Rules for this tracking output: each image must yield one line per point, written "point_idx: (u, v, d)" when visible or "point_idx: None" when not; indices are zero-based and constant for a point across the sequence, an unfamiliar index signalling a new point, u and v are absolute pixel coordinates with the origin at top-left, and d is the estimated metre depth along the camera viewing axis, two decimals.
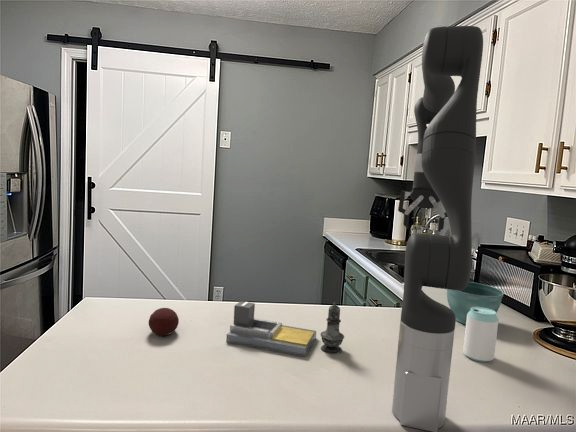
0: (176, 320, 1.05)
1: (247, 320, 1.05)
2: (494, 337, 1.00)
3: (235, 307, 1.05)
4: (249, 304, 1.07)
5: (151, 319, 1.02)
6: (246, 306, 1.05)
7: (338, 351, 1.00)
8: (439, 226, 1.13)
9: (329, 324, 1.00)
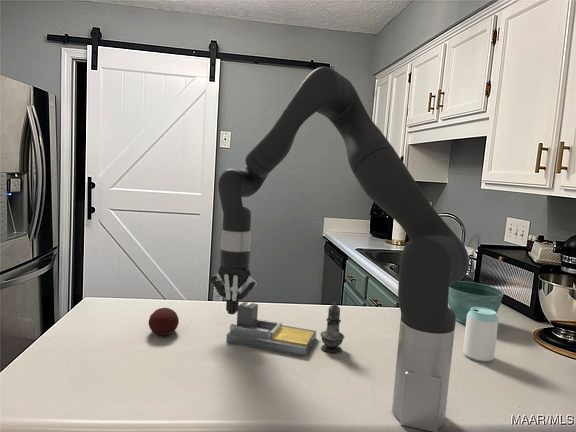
0: (176, 320, 1.05)
1: (250, 321, 1.04)
2: (494, 337, 1.00)
3: (238, 308, 1.05)
4: (252, 305, 1.07)
5: (151, 319, 1.02)
6: (249, 307, 1.05)
7: (338, 351, 1.00)
8: (231, 309, 1.06)
9: (329, 324, 1.00)
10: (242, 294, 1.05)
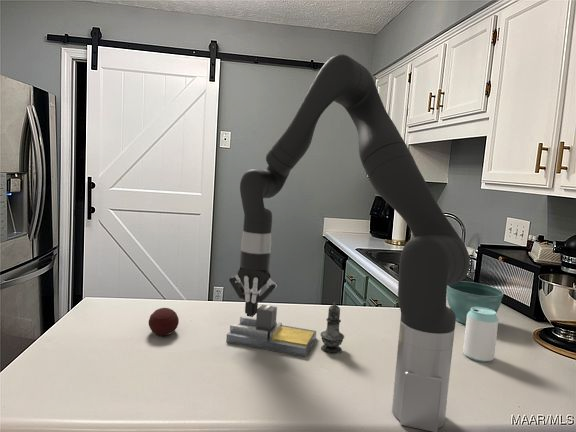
0: (176, 320, 1.05)
1: (270, 324, 1.03)
2: (494, 337, 1.00)
3: (258, 311, 1.04)
4: (271, 308, 1.05)
5: (151, 319, 1.02)
6: (269, 310, 1.03)
7: (338, 351, 1.00)
8: (250, 311, 1.05)
9: (329, 324, 1.00)
10: (262, 296, 1.04)
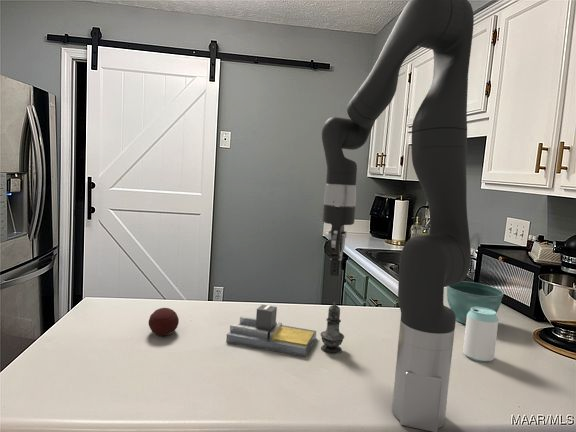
0: (176, 320, 1.05)
1: (270, 324, 1.03)
2: (494, 337, 1.00)
3: (257, 311, 1.04)
4: (271, 308, 1.05)
5: (151, 319, 1.02)
6: (268, 310, 1.04)
7: (338, 351, 1.00)
8: None
9: (329, 324, 1.00)
10: (329, 253, 0.97)
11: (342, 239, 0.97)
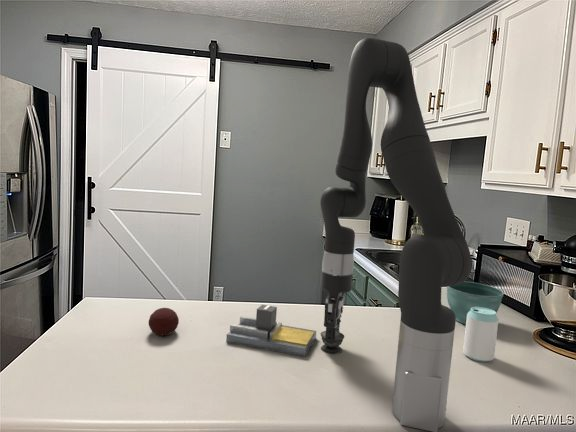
0: (176, 320, 1.05)
1: (270, 324, 1.03)
2: (494, 337, 1.00)
3: (257, 311, 1.04)
4: (271, 308, 1.05)
5: (151, 319, 1.02)
6: (268, 310, 1.04)
7: (338, 351, 1.00)
8: None
9: None
10: (324, 321, 0.96)
11: (339, 305, 0.98)
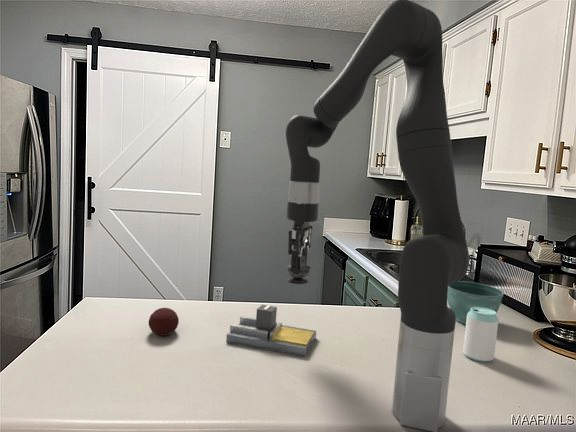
0: (176, 320, 1.05)
1: (270, 324, 1.03)
2: (494, 337, 1.00)
3: (257, 311, 1.04)
4: (271, 308, 1.05)
5: (151, 319, 1.02)
6: (268, 310, 1.04)
7: (303, 282, 1.00)
8: None
9: None
10: None
11: (304, 234, 0.98)
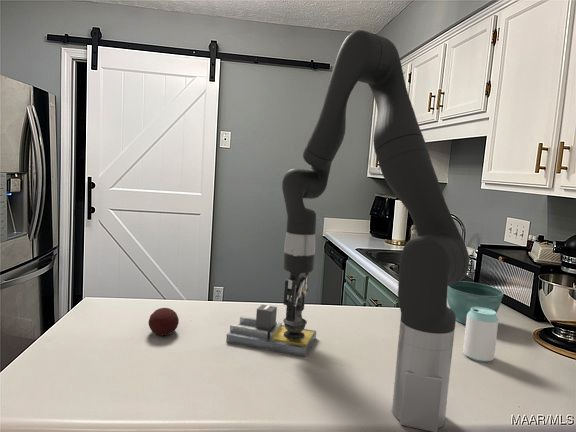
0: (176, 320, 1.05)
1: (270, 324, 1.03)
2: (494, 337, 1.00)
3: (257, 311, 1.04)
4: (271, 308, 1.05)
5: (151, 319, 1.02)
6: (268, 310, 1.04)
7: (300, 336, 1.02)
8: None
9: None
10: None
11: (300, 284, 0.99)
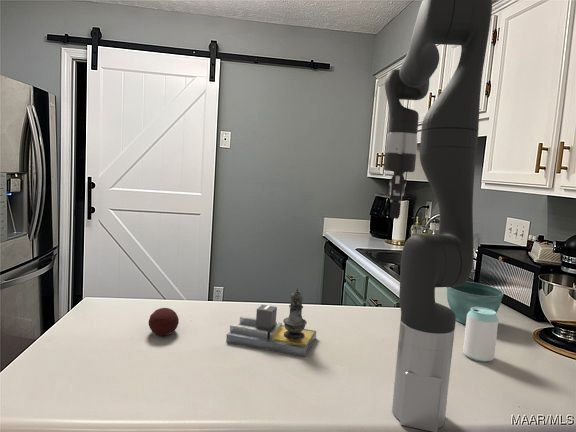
0: (176, 320, 1.05)
1: (270, 324, 1.03)
2: (494, 337, 1.00)
3: (257, 311, 1.04)
4: (271, 308, 1.05)
5: (151, 319, 1.02)
6: (268, 310, 1.04)
7: (300, 336, 1.02)
8: (390, 212, 1.01)
9: (291, 310, 1.02)
10: (390, 194, 0.98)
11: (403, 183, 1.02)
